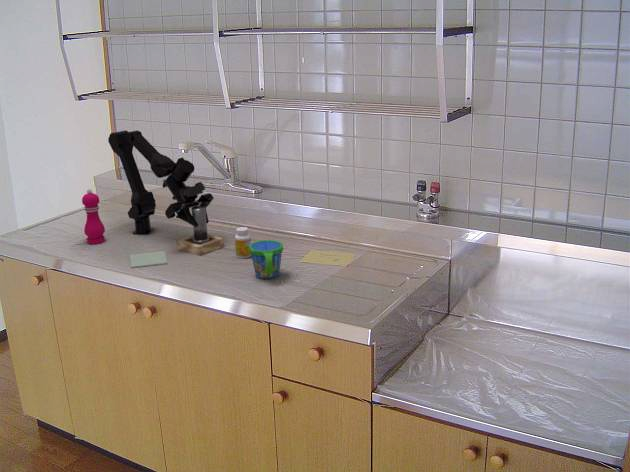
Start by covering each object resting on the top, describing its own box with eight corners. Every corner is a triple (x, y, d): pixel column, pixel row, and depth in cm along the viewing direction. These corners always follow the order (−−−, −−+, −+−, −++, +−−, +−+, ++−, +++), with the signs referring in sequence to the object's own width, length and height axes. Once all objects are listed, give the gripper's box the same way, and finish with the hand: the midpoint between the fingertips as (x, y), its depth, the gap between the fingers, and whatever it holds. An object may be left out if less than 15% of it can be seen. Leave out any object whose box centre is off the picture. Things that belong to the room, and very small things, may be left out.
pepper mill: (109, 238, 261) (102, 186, 254) (101, 245, 254) (94, 191, 248) (90, 238, 261) (83, 186, 255) (82, 244, 255) (75, 191, 248)
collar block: (177, 249, 247) (176, 241, 246) (202, 240, 256) (201, 232, 255) (199, 255, 240) (199, 247, 239) (224, 246, 249) (224, 238, 248)
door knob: (195, 238, 251) (192, 205, 247) (211, 239, 250) (208, 205, 246) (190, 244, 245) (187, 210, 241) (207, 244, 245) (204, 210, 241)
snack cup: (285, 284, 214) (283, 252, 211) (250, 285, 213) (248, 254, 210) (283, 266, 229) (282, 236, 225) (251, 267, 228) (249, 238, 225)
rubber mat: (129, 256, 241) (129, 255, 241) (165, 252, 244) (164, 251, 244) (130, 268, 230) (130, 266, 230) (167, 263, 233) (167, 262, 233)
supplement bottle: (232, 256, 239) (230, 229, 236) (244, 252, 243) (242, 225, 240) (243, 259, 235) (241, 232, 232) (255, 255, 239) (253, 228, 236)
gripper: (167, 181, 236) (191, 218, 233) (208, 171, 250) (232, 205, 246) (154, 200, 243) (178, 236, 240) (195, 189, 257) (218, 222, 254)
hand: (202, 224), depth 245 cm, fingers closed on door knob, 5 cm apart
